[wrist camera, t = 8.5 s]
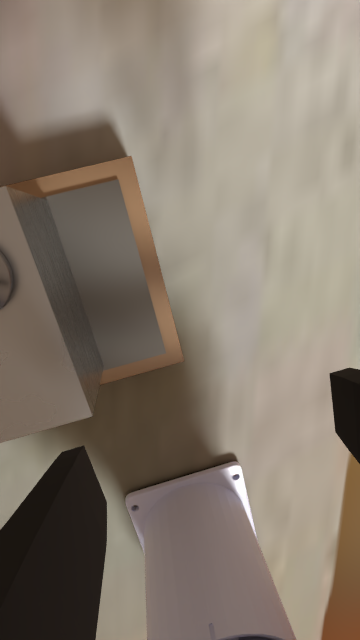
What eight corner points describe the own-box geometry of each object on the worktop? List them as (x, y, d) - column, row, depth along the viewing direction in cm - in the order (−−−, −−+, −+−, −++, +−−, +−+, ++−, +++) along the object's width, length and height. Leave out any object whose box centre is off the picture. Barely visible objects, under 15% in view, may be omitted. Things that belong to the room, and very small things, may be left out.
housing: (104, 365, 16) (91, 422, 11) (24, 387, 15) (-23, 455, 11) (47, 200, 13) (-1, 183, 9) (-48, 222, 13) (-149, 218, 8)
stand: (178, 346, 19) (184, 362, 16) (-25, 403, 18) (-48, 428, 16) (131, 165, 16) (131, 154, 13) (-115, 224, 15) (-161, 223, 13)
